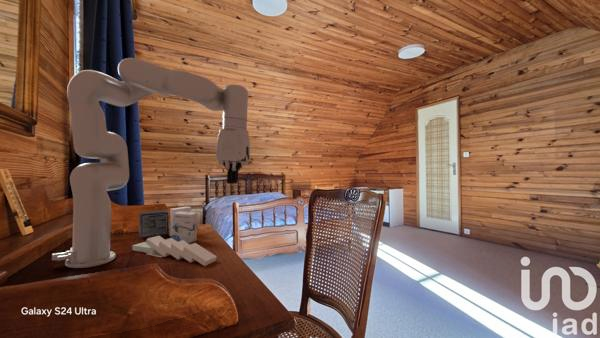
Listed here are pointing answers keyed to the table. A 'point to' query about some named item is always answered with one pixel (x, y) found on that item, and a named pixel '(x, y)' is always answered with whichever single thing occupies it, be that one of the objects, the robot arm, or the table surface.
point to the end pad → (155, 254)
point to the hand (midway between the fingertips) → (232, 183)
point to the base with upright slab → (172, 211)
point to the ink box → (185, 226)
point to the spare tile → (144, 248)
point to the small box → (153, 224)
